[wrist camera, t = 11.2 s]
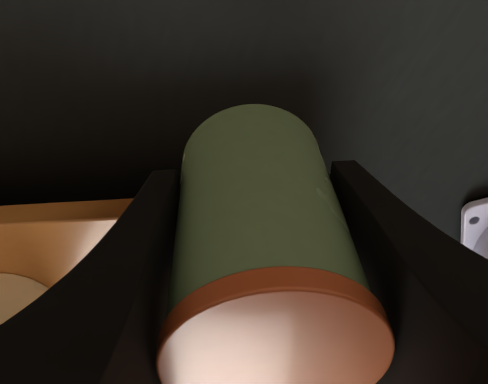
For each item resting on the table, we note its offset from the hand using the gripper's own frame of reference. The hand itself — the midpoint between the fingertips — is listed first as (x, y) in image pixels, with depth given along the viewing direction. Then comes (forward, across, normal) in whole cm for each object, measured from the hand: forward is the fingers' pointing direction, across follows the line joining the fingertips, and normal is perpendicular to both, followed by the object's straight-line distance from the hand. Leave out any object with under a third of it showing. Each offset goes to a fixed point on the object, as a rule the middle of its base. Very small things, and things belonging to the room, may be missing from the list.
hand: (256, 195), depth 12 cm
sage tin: (+1, 0, 0) cm, 1 cm away
